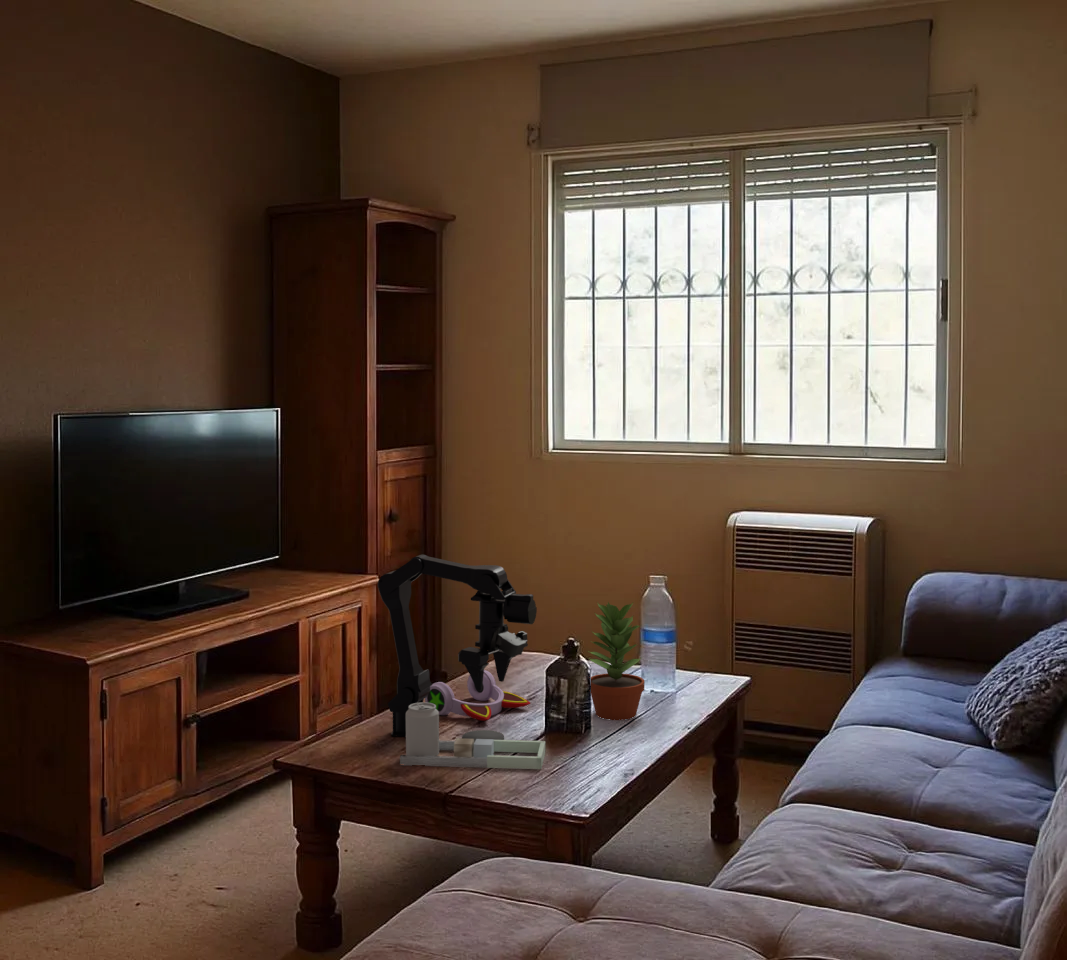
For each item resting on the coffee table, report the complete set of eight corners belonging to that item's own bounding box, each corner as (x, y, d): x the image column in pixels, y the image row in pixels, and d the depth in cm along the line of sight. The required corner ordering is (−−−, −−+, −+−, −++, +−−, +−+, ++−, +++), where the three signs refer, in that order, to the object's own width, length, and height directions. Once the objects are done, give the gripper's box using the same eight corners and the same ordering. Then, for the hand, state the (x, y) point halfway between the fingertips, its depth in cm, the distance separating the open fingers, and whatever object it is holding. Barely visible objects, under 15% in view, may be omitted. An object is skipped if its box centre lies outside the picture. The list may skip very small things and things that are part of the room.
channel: (400, 765, 263) (399, 756, 263) (410, 747, 275) (410, 739, 275) (487, 767, 261) (487, 758, 261) (493, 750, 273) (493, 741, 273)
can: (413, 764, 263) (412, 711, 262) (401, 754, 270) (400, 703, 269) (444, 759, 267) (444, 707, 266) (431, 749, 274) (431, 699, 272)
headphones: (471, 667, 318) (530, 670, 306) (475, 703, 318) (533, 707, 306) (421, 683, 302) (481, 686, 290) (425, 721, 303) (485, 726, 290)
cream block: (454, 761, 266) (453, 743, 265) (456, 755, 270) (456, 738, 269) (471, 761, 266) (471, 744, 265) (474, 755, 269) (474, 738, 269)
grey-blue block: (473, 761, 265) (473, 744, 265) (476, 756, 269) (476, 738, 269) (491, 762, 265) (491, 744, 265) (493, 756, 269) (493, 739, 269)
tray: (487, 767, 261) (487, 756, 261) (493, 750, 273) (493, 739, 273) (541, 769, 260) (541, 758, 260) (545, 751, 272) (545, 741, 272)
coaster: (459, 745, 277) (459, 742, 277) (465, 731, 287) (465, 729, 287) (501, 746, 276) (501, 743, 276) (506, 733, 286) (506, 730, 286)
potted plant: (648, 707, 307) (649, 593, 304) (640, 724, 292) (641, 605, 290) (591, 704, 310) (592, 591, 308) (581, 720, 296) (581, 602, 293)
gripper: (497, 632, 264) (496, 700, 265) (541, 617, 279) (540, 682, 281) (457, 625, 270) (456, 692, 271) (502, 611, 285) (501, 675, 287)
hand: (490, 685), depth 277 cm, fingers open, 9 cm apart
